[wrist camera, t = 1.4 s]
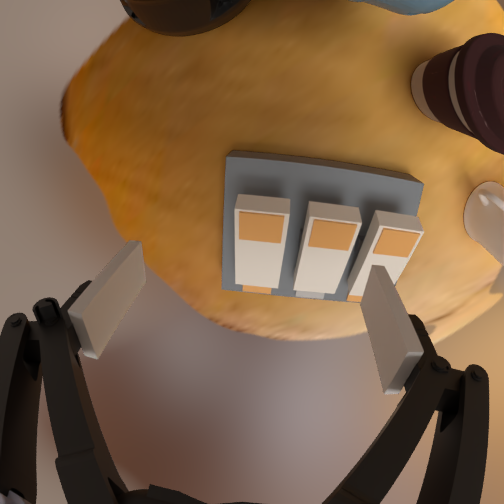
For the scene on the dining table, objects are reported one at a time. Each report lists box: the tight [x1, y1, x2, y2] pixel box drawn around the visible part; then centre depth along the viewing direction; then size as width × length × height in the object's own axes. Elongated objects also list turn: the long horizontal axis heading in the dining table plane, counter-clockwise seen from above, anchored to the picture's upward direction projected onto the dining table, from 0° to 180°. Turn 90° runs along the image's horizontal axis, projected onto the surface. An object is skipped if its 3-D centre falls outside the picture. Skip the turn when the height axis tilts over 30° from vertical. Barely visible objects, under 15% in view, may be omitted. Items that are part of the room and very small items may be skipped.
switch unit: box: [222, 150, 424, 303], centre depth 32 cm, size 15×20×5 cm
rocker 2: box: [293, 201, 362, 294], centre depth 28 cm, size 10×4×2 cm, turn 178°
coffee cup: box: [411, 33, 504, 155], centre depth 19 cm, size 10×10×15 cm
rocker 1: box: [234, 194, 290, 288], centre depth 28 cm, size 10×4×2 cm, turn 178°
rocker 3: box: [347, 210, 424, 296], centre depth 28 cm, size 10×4×2 cm, turn 178°
